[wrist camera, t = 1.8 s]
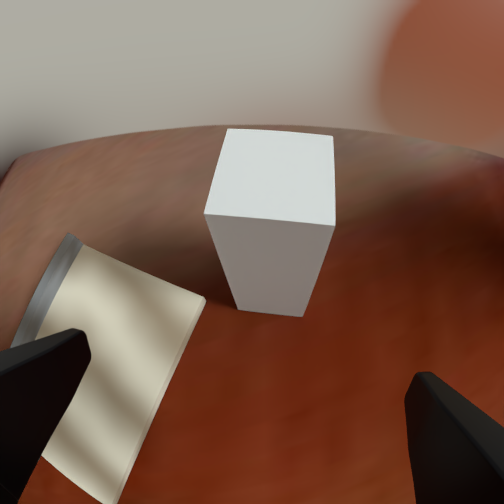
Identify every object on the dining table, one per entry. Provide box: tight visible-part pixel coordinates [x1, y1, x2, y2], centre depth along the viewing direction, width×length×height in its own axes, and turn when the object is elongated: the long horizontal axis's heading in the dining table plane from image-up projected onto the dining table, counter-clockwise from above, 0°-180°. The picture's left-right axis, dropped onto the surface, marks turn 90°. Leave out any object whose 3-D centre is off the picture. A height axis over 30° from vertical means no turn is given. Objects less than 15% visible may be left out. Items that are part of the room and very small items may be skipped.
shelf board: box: [10, 233, 206, 504], centre depth 18 cm, size 18×13×2 cm
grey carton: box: [204, 129, 335, 317], centre depth 17 cm, size 5×4×12 cm
